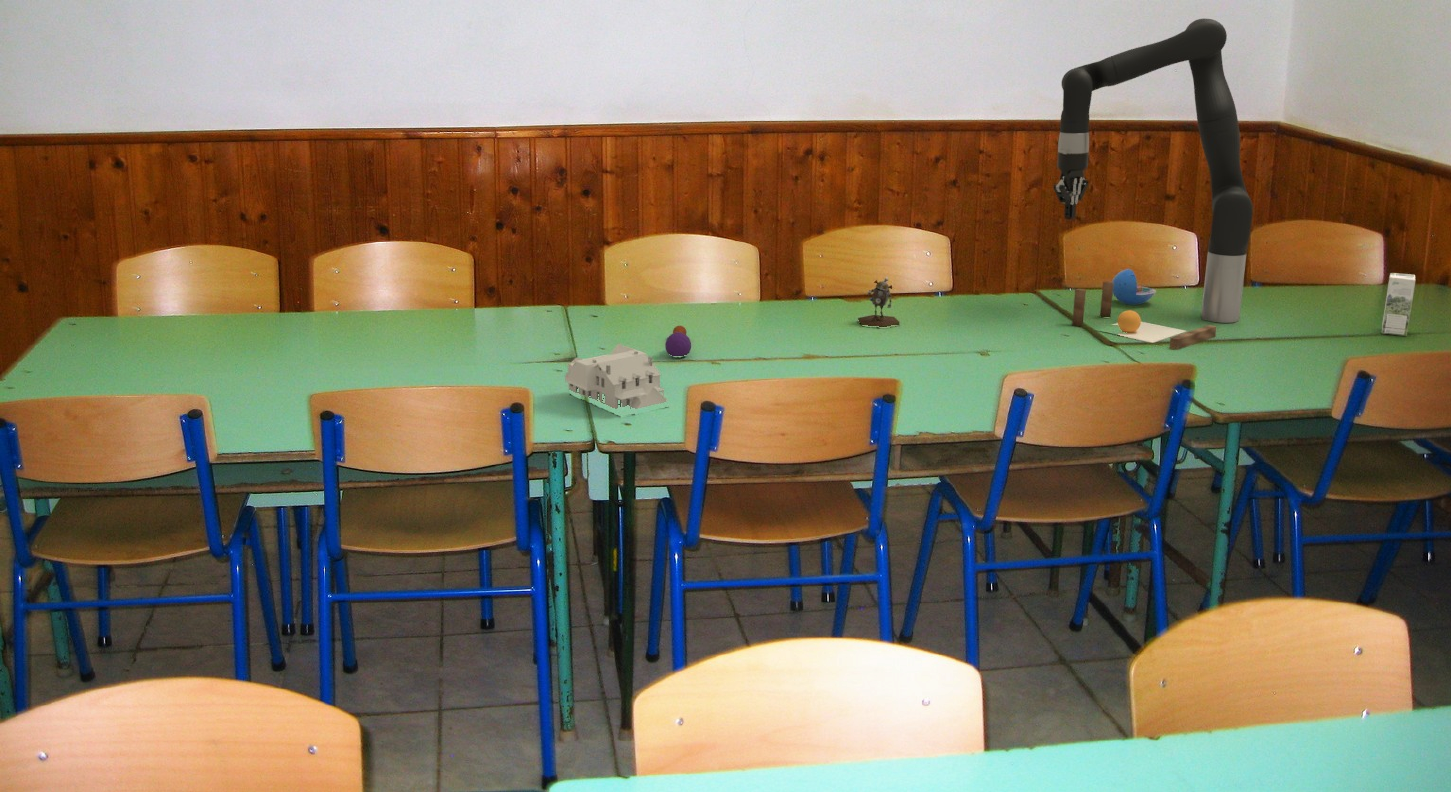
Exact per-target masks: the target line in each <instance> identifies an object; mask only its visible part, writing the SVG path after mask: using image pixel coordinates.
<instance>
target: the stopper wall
mask: <svg viewBox="0 0 1451 792" xmlns="http://www.w3.org/2000/svg"><path fill="white" fill-rule="evenodd" d="M1216 334H1217V326H1215V325H1210V324H1208V325H1205V326H1202V327H1198V328H1196V329H1192V330H1190V331H1187V332H1185V333H1182V334H1179V335H1176V336H1173V337H1170V340H1169V349H1171V350H1180V349H1183V348H1186V347H1189V346H1191V345H1194V344H1198V343H1201V342H1203V341H1206V340H1209V339H1212V338H1215V337H1216Z"/></svg>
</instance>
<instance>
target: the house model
mask: <svg viewBox="0 0 1451 792" xmlns="http://www.w3.org/2000/svg"><path fill="white" fill-rule="evenodd" d="M566 367H567V373H566V374H565V375H564V382H566V383H568V391H569V390H571V391H573V392H575V393H579V394H581V395H584V396H586V397H589V396H591V397H589V398H592V399H595V400H597V399H598V397H599V400H600V402H601V403H603V402H602V401H603V400H602V394H604V396H605V403H603V404H606V405H608V406H610V407H612V408H615V409H617V408H618V405H620V407H621V403H622V407H625V406H627V405H629V406H630V409H631V407H632V408H635V409H638V408H642V407H647V406H651V405H655V404H659V403H660V404H661V403H664V402H667V403H668V400H667V398H666V397H665V396H664V395H665V392H664V391H666V389H665V388H662V387H661V381H660V379H661V377H660V376H662V373H661V372H660V371H659V369H658V368H657V367H656V365H655V364H654V363H653V356H648V355H647V353H645V352H644V351H640V350H638V349H634V348H632V347H629V346H626V345H623V344H620V343H617V344H616V346H615V347H614V349H613V350H612V351H611V352H610V354H609V353H608V354H604V355H598V356H594V357H589V358H580V357H575V358H574V359H573V360H572V361H571V362H570V363H567V365H566ZM578 388H579V392H577V389H578ZM598 394H599V396H598ZM603 399H604V398H603ZM618 400H620V404H618ZM597 401H598V400H597Z"/></svg>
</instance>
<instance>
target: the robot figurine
mask: <svg viewBox="0 0 1451 792" xmlns="http://www.w3.org/2000/svg"><path fill="white" fill-rule="evenodd" d="M889 280H890V279H889V277H888V276H885V278H884V280H881V281H879V282H878V279H876V280H875V281H873V283H874V284H876V285H875V288H873V289H869V290H868V292H867V296H868V297H869V301H870V302H872V304H873V305H874V309H875V310H874V314H871V315H866V316H862V317H861V316H860V317H858V318H857V321H858V320H859V322H860V323H861V324H862V325H868V326H879V327H887V326H891V325H899V326H900V321H899V320H898V319H897V318H896V317H895V316H888V315H884V313H883V309H884V306H886V305H887V307H886V309H892V308H891V307H892V301H893V300H892V296H893V295H892V294H891V291H890V290H892V289H893V285H892V284H890V285H889V284H888V283H887V282H888V281H889ZM871 294H872V297H870V296H871ZM888 301H889V303H888ZM887 303H888V304H887ZM878 307H879V308H880V312H879V314H880V315H879V314H877V308H878ZM859 322H858V323H859ZM860 323H859V324H860ZM861 324H860V325H861ZM862 325H861V326H862Z"/></svg>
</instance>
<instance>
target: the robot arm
mask: <svg viewBox="0 0 1451 792" xmlns="http://www.w3.org/2000/svg"><path fill="white" fill-rule="evenodd" d="M1227 35H1228V34H1227V31H1226V28H1225V27H1224V25H1223V24H1222V23H1220V22H1219V21H1218V20H1216V19H1213V18H1199V19H1195V20H1194V21H1192V22H1191V23H1189V24H1188V26H1187V27H1186V29H1185V30H1184V31H1181V32H1180V33H1177V34H1175V35H1173V36H1170V37H1169V38H1165V39H1163V40H1160V41H1157V42H1154V43H1150V44H1146V45H1142V46H1138V47H1134V48H1132V49H1128V50H1125V51H1122V52H1120V53H1117V54H1114V55H1111V56H1107V57H1106V58H1104V59H1101V60H1099V61H1095V62H1091V63H1087V64H1084V65H1080V66H1077V67H1074V68H1071V69H1069V70H1068V71H1066V72H1065V74H1064V75H1063V76H1062V79H1061V88H1062V92H1063V93H1062V95H1063V96H1062V97H1063V98H1062V111H1061V114H1060V115H1061V116H1060V125H1059V137H1058V143H1057V163H1056V165H1057V166H1056V167H1057V170H1060V175H1059V181H1058V183H1055V184H1053V190H1054V192H1055V195H1056V197H1057V199H1058V200H1059V201H1058V202H1059V203H1062V204H1064V213H1063V214H1064V219H1066V220H1074V219H1075V218H1076V213H1077V212H1076V209H1077V204H1078V202H1080V201H1082V199H1083V197H1084V195H1085V193H1086V190H1087V188H1088V186H1089V184H1090V180H1089V179H1085V173H1084V171H1085V170H1087V169H1088V167H1089V166H1088V165H1089V152H1090V150H1089V149H1090V133H1089V132H1090V131H1089V130H1090V109H1091V108H1090V107H1091V103H1092V102H1091V101H1092V95H1093V92H1094V91H1097V90H1099V89H1101V88H1105V87H1112V86H1113V87H1114V86H1116V85H1120V84H1122V83H1125V82H1128V81H1131V80H1133V79H1136V78H1138V77H1141V76H1142V77H1143V76H1144V75H1147V74H1149V73H1152V72H1155V71H1157V70H1159V69H1162V68H1165V67H1168V66H1172V65H1174V64H1178V63H1183V62H1187V61H1188V64H1189V67H1190V71H1191V76H1192V80H1193V81H1192V82H1193V90H1194V91H1193V93H1194V103H1195V105H1194V106H1195V112H1196V119H1197V121H1196V122H1197V127H1198V133H1199V137H1200V142H1201V146H1202V149H1203V153H1204V156H1205V160H1206V162H1207V166H1208V170H1209V175H1210V185H1211V210H1212V218H1211V220H1212V221H1211V227H1210V228H1211V229H1210V237H1209V240H1208V247H1207V248H1208V249H1207V256H1206V267H1205V274H1204V275H1205V276H1204V285H1203V293H1202V294H1203V296H1202V302H1201V311H1200V318H1201V319H1202V320H1205V321H1208V322H1213V323H1220V324H1221V323H1223V324H1225V323H1226V324H1227V323H1228V324H1229V323H1236V322H1239V321H1240V318H1241V307H1242V298H1243V291H1244V279H1245V278H1244V277H1245V269H1246V261H1247V252H1248V246H1249V242H1250V236H1251V230H1252V222H1253V216H1254V215H1253V214H1254V213H1253V212H1254V206H1253V202H1252V200H1251V198H1250V195H1249V194H1248V192H1247V188H1246V185H1245V182H1244V177H1243V174H1242V168H1241V160H1240V159H1241V156H1240V155H1241V135H1240V127H1239V120H1238V114H1237V108H1236V105H1235V101H1234V99H1233V96H1232V91H1231V90H1230V87H1229V84H1228V82H1227V79H1226V75H1225V72H1224V71H1225V70H1224V66H1223V55H1222V50H1223V49H1224V47H1225V46H1226V43H1227V40H1228V38H1227Z"/></svg>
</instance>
